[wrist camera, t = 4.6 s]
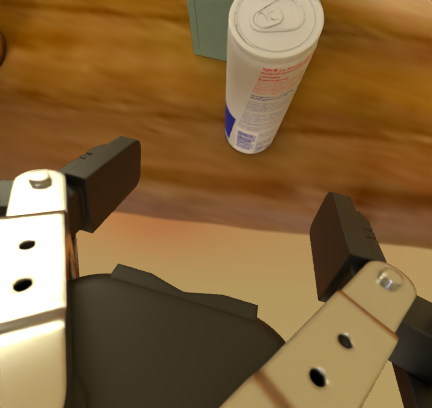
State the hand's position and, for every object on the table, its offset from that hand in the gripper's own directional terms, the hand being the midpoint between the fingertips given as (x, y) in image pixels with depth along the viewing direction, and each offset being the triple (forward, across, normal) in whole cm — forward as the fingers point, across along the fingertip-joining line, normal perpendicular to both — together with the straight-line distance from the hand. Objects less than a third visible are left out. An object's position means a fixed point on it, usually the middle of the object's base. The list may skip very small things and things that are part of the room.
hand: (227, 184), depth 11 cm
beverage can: (+20, 0, +4) cm, 20 cm away
